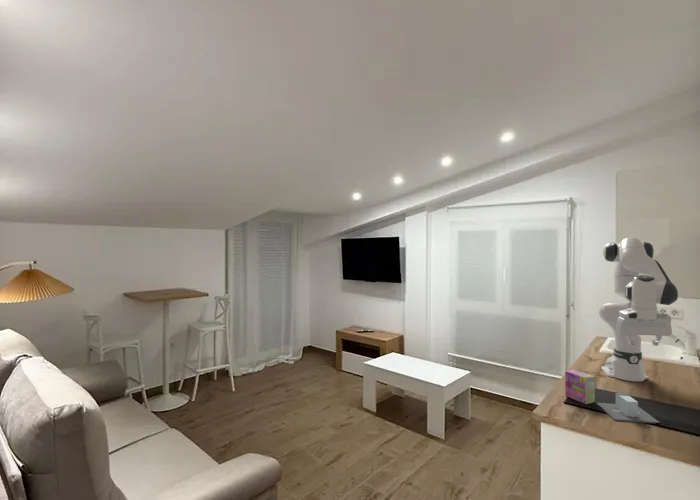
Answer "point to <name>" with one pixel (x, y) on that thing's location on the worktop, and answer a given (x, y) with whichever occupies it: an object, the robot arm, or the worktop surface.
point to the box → (580, 386)
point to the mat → (620, 416)
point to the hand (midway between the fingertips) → (643, 344)
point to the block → (626, 404)
